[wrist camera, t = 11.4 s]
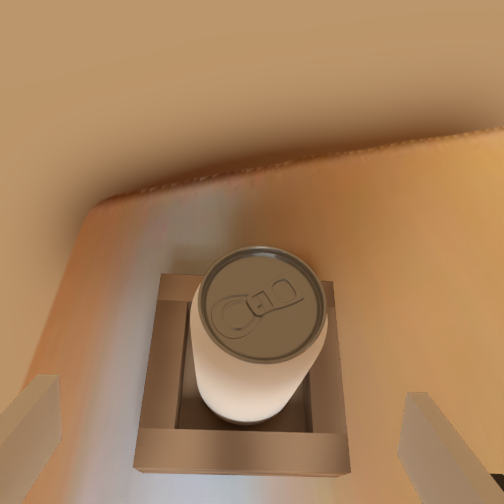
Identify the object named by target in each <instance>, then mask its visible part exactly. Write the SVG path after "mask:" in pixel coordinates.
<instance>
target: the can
mask: <svg viewBox="0 0 504 504" xmlns="http://www.w3.org/2000/svg"><path fill="white" fill-rule="evenodd" d="M327 327H328V317H327V301H326V295H325V291H324V288H323V286H322V284H321V282H320V280H319V278H318V276H317V275H316V273H315V272H314V271H313V270H312V268H311V267H310V266H309V265H308V264H307V263H305V262H304V261H303V260H302V259H300V258H299V257H297V256H296V255H294V254H292V253H290V252H288V251H286V250H283V249H280V248H276V247H272V246H264V245H255V246H247V247H242V248H239V249H236V250H233V251H231V252H229V253H227V254H225V255H224V256H222V257H221V258H219V259H218V260H217V261H216V262H215V263H214V264H213V265H212V266H211V267H210V268H209V270H208V271H207V272H206V274H205V276H204V278H203V280H202V282H201V283H200V285H199V287H198V288H197V290H196V292H195V295H194V298H193V301H192V305H191V311H190V329H191V339H192V348H193V356H194V364H195V372H196V379H197V385H198V389H199V392H200V394H201V396H202V398H203V400H204V402H205V403H206V404H207V406H208V407H209V408H210V409H211V411H212V412H213V413H214V414H216V415H217V416H218V417H220V418H221V419H223V420H225V421H227V422H229V423H233V424H237V425H255V424H260V423H262V422H265V421H267V420H269V419H271V418H272V417H274V416H275V415H276V414H278V413H279V412H280V411H281V410H282V409H283V407H284V406H285V405H286V404H287V402H288V401H289V399H290V398H291V396H292V395H293V394H294V392H295V391H296V389H297V388H298V386H299V385H300V383H301V382H302V380H303V379H304V377H305V376H306V374H307V373H308V371H309V369H310V368H311V366H312V365H313V363H314V362H315V360H316V358H317V357H318V355H319V353H320V351H321V349H322V347H323V344H324V341H325V338H326V334H327Z"/></svg>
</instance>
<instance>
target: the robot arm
mask: <svg viewBox="0 0 504 504" xmlns="http://www.w3.org/2000/svg"><path fill="white" fill-rule="evenodd" d="M61 440H62V433H61V407H60V381H59V375H53V374H38V375H37V376H36V377H35V378H34V379H33V380H32V381H31V382H30V383H29V384H28V385H27V386H26V388H25V389H24V390H23V391H22V392H21V393H20V394H19V395H18V396H17V397H16V398H15V399H14V400H13V402H12V403H11V404H10V405H9V406H8V407H7V408H6V409H5V410H4V411H3V412H2V413H1V414H0V504H21V503H22V502H23V500H24V499H25V497H26V495H27V494H28V492H29V491H30V489H31V488H32V486H33V484H34V483H35V481H36V480H37V478H38V476H39V475H40V473H41V472H42V470H43V469H44V467H45V465H46V464H47V462H48V461H49V459H50V457H51V456H52V454H53V453H54V451H55V450H56V448H57V446H58V445H59V443H60V442H61ZM397 455H398V457H399V459H400V461H401V463H402V465H403V467H404V469H405V471H406V473H407V474H408V476H409V478H410V480H411V482H412V484H413V486H414V488H415V490H416V492H417V494H418V496H419V498H420V500H421V502H422V504H504V475H503V474H489V472H488V471H487V470H486V468H485V467H484V466H483V465H482V463H481V462H480V461H479V459H478V458H477V457H476V455H475V454H474V453H473V452H472V450H471V449H470V448H469V446H468V445H467V444H466V443H465V441H464V440H463V439H462V437H461V436H460V435H459V433H458V432H457V431H456V430H455V428H454V427H453V426H452V424H451V423H450V422H449V420H448V419H447V418H446V417H445V415H444V414H443V413H442V411H441V410H440V409H439V408H438V406H437V405H436V404H435V402H434V401H433V400H432V398H431V397H430V396H429V395H428V393H424V392H407V397H406V403H405V409H404V415H403V421H402V427H401V433H400V439H399V445H398V451H397Z"/></svg>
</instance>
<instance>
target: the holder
mask: <svg viewBox="0 0 504 504" xmlns="http://www.w3.org/2000/svg"><path fill="white" fill-rule="evenodd" d="M203 278H204V276H203V275H182V274H161V278H160V285H159V292H158V299H157V306H156V313H155V319H154V326H153V333H152V340H151V347H150V354H149V360H148V367H147V374H146V381H145V388H144V395H143V401H142V408H141V415H140V422H139V429H138V436H137V443H136V449H135V456H134V463H133V468H135V469H137V470H138V471H140V472H142V473H172V474H216V475H259V476H303V477H339V476H342V475H345V474H348V473H351V468H350V458H349V447H348V437H347V426H346V416H345V405H344V395H343V384H342V374H341V363H340V353H339V342H338V332H337V321H336V311H335V300H334V290H333V281H320V282H321V284H322V286H323V288H324V291H325V295H326V301H327V317H328V327H327V334H326V338H325V341H324V344H323V347H322V349H321V351H320V353H319V355H318V357H317V358H316V360H315V362H314V363H313V365H312V366H311V368H310V369H309V371H308V373H307V374H306V376H305V377H304V379H303V380H302V382H301V383H300V385H299V386H298V388H297V389H296V391H295V392H294V394H293V395H292V396H291V398H290V399H289V401H288V402H287V404H286V405H285V406H284V407H283V409H282V410H281V411H280V412H279V413H278V414H276V415H275V416H274V417H272V418H271V419H269V420H267V421H265V422H262V423H260V424H255V425H237V424H233V423H229V422H227V421H225V420H223V419H221V418H220V417H218V416H217V415H216V414H214V413H213V412H212V411H211V409H210V408H209V407H208V406H207V404H206V403H205V402H204V400H203V398H202V396H201V394H200V392H199V389H198V385H197V379H196V372H195V364H194V356H193V348H192V339H191V329H190V311H191V305H192V301H193V298H194V295H195V292H196V290H197V288H198V287H199V285H200V283H201V282H202V280H203Z"/></svg>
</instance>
